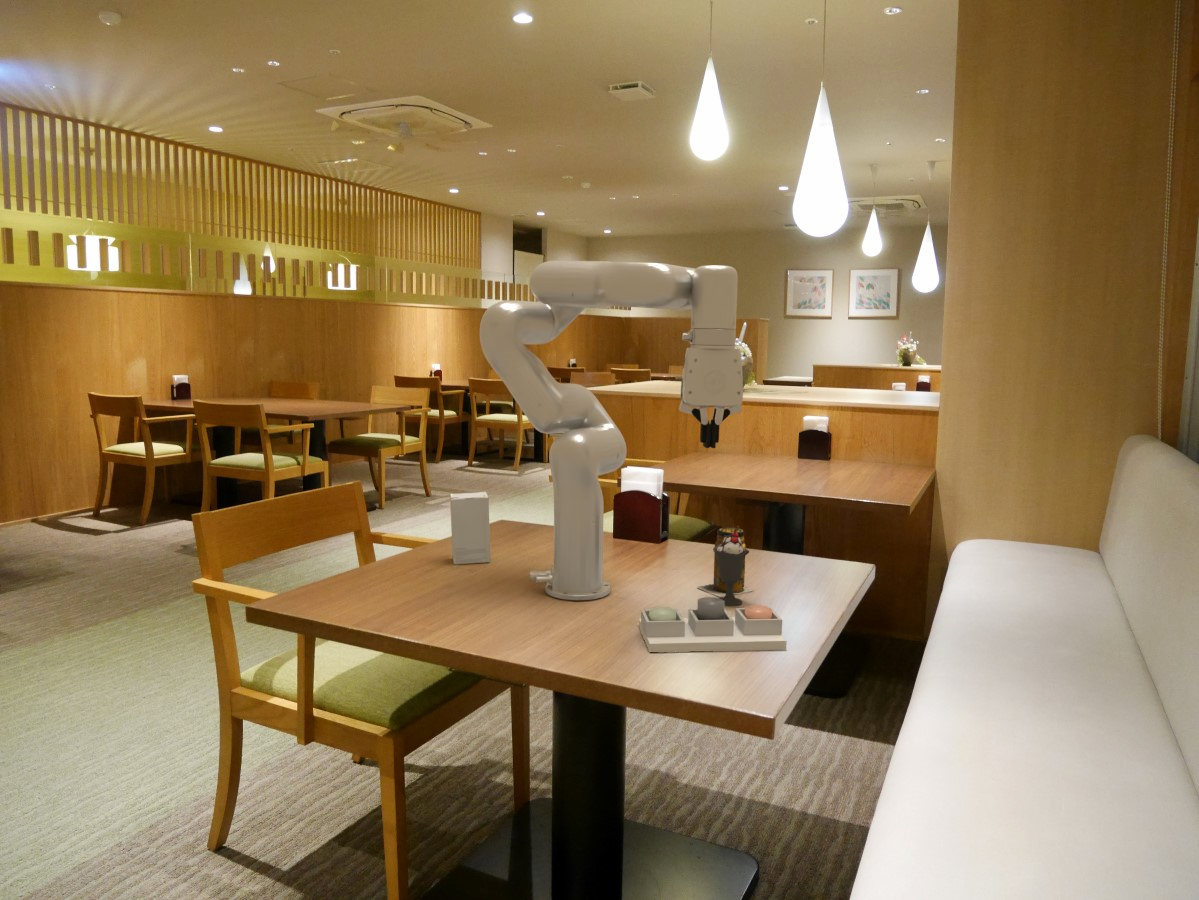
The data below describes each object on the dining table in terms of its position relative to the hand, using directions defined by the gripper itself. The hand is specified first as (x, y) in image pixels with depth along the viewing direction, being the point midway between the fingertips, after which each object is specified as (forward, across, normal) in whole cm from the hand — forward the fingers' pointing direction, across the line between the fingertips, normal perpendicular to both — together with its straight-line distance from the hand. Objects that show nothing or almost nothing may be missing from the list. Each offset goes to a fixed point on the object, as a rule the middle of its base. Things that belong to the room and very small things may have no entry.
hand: (709, 446), depth 148 cm
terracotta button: (+29, +7, -10) cm, 31 cm away
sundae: (+31, +7, +9) cm, 33 cm away
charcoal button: (+27, -1, -11) cm, 29 cm away
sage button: (+29, -9, -11) cm, 32 cm away
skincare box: (+31, -44, +39) cm, 67 cm away
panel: (+30, -1, -11) cm, 32 cm away
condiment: (+31, +8, +17) cm, 36 cm away
